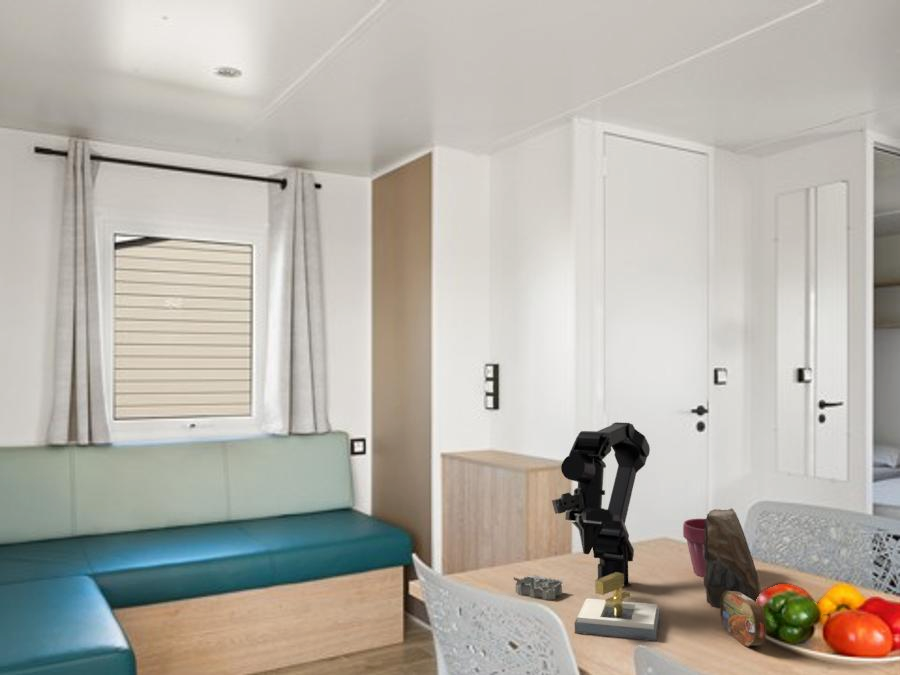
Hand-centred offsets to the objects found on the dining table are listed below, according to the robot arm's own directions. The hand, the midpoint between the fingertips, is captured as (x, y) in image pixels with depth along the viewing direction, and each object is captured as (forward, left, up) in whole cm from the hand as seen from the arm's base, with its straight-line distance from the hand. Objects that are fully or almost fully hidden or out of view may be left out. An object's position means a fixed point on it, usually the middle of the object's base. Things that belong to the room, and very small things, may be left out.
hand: (586, 554), depth 176 cm
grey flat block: (-1, +16, -11) cm, 19 cm away
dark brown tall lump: (-32, +8, -11) cm, 35 cm away
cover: (-1, +16, -9) cm, 18 cm away
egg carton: (+8, -9, -11) cm, 17 cm away
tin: (-21, +29, -11) cm, 37 cm away
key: (+1, +17, -9) cm, 19 cm away
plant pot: (-40, -14, -11) cm, 44 cm away
